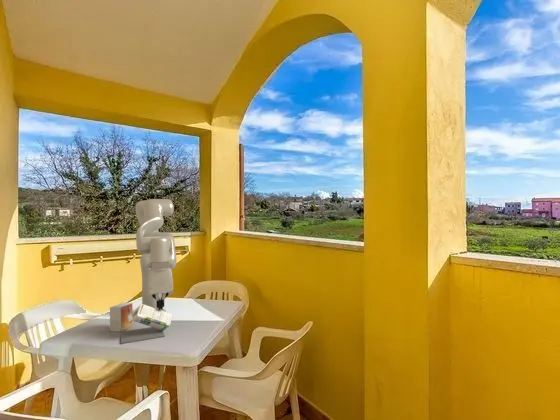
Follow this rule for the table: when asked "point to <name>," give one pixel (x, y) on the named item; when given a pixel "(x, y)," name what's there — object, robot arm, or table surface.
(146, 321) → the syrup box
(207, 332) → the table surface
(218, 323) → the table surface
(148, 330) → the mat
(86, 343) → the table surface
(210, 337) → the table surface
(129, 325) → the small box
